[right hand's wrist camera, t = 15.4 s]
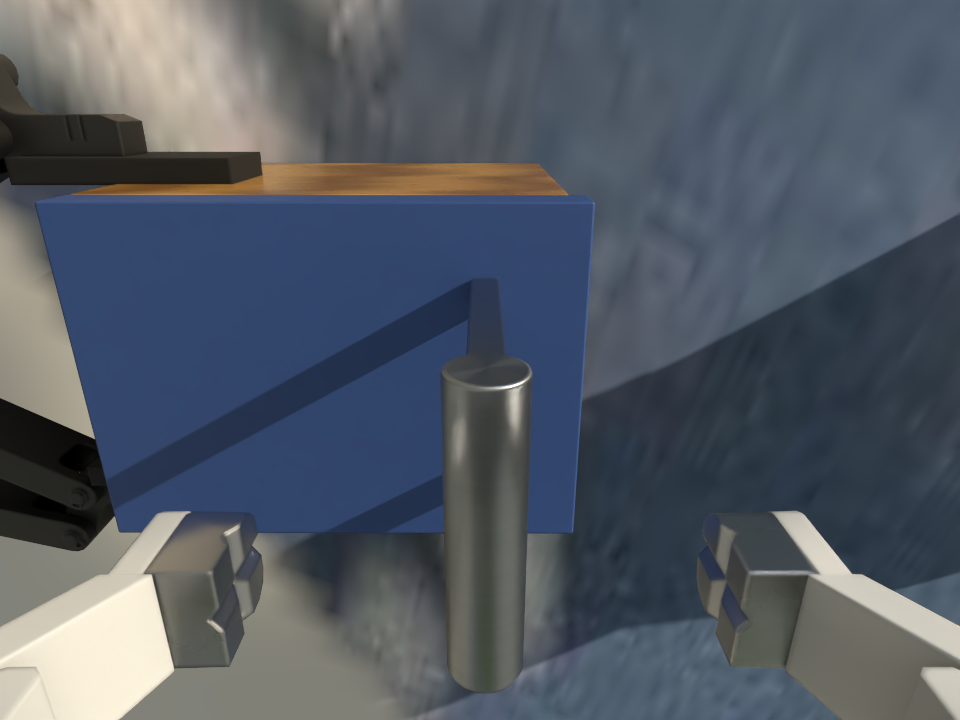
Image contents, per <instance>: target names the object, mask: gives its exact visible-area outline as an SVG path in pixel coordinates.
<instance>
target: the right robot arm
mask: <svg viewBox="0 0 960 720" xmlns="http://www.w3.org/2000/svg"><path fill="white" fill-rule="evenodd" d="M257 534H258V531H257V526H256V521H255V517H254V516H253V515H252V514H251V513H249V512H202V511H193V512H190V511H163V512H161V513H158V514H156V515H155V516H154V517H153V519H152V520H151V521H150V522H149V524H148V525H147V526H146V527H145V529H144V530H143V531H142V532H141V534H140V535H139V536H138V537H137V539H136V540H135V541H134V542H133V543H132V545H131V546H130V547H129V548H128V550H127V551H126V552H125V554H124V555H123V556H122V557H121V558H120V560H119V561H118V562H117V563H116V565H115V566H114V567H113V568H112V570H111V571H110V572H109V573H108V574H98V575H96V576H94V577H92V578H90V579H88V580H87V581H85V582H83V583H81V584H79V585H77V586H75V587H73V588H72V589H70V590H68V591H66V592H64V593H62V594H60V595H58V596H57V597H55V598H53V599H51V600H49V601H47V602H45V603H43V604H41V605H40V606H38V607H36V608H34V609H32V610H30V611H28V612H26V613H25V614H23V615H21V616H19V617H17V618H15V619H13V620H11V621H9V622H8V623H6V624H4V625H2V626H0V720H120V719H121V718H122V717H123V716H124V715H125V714H126V713H128V712H129V711H130V710H131V709H132V708H133V707H134V706H135V705H137V704H138V703H139V702H140V701H141V700H142V699H143V698H145V697H146V696H147V695H148V694H149V693H150V692H151V691H153V690H154V689H155V688H156V687H157V686H158V685H159V684H161V683H162V682H163V681H164V680H165V679H166V678H167V677H169V676H170V675H171V674H172V673H173V672H174V671H175V670H174V668H198V667H229V666H230V664H231V662H232V660H233V658H234V655H235V653H236V651H237V649H238V646H239V644H240V642H241V640H242V638H243V635H244V628H243V622H242V621H243V620H244V619H246V618H247V617H248V616H250V615H251V614H252V613H254V611H255V609H256V606H257V604H258V601H259V599H260V594H261V589H262V584H263V563H262V556H261V554H260V553H259V552H258V551H257V550H256V549H255V548H254V547H253V546H252V544H253V542H254V540H255V538H256V536H257ZM702 535H703V537H704V538H705V540H706V542H707V544H708V546H707V547H706V548H705V549H704V550H703V551H702V552H701V553H700V554H699V555H698V564H697V585H698V591H699V595H700V599H701V602H702V604H703V606H704V609H705V611H706V613H708V614H709V615H710V616H712V617H713V618H714V619H716V620H717V627H716V633H715V634H716V636H717V638H718V640H719V642H720V644H721V647H722V649H723V651H724V653H725V655H726V658H727V660H728V662H729V664H730V666H731V667H760V668H786V669H785V671H786V672H787V673H788V674H789V675H791V676H792V677H793V678H794V679H795V680H796V681H797V682H798V683H800V684H801V685H802V686H803V687H804V688H805V689H806V690H808V691H809V692H810V693H811V694H812V695H813V696H814V697H816V698H817V699H818V700H819V701H820V702H821V703H822V704H824V705H825V706H826V707H827V708H828V709H829V710H830V711H831V712H833V713H834V714H835V715H836V716H837V717H838V718H839V719H841V720H960V626H958V625H956V624H954V623H952V622H950V621H948V620H946V619H945V618H943V617H941V616H939V615H937V614H935V613H933V612H931V611H930V610H928V609H926V608H924V607H922V606H920V605H918V604H916V603H915V602H913V601H911V600H909V599H907V598H905V597H903V596H901V595H900V594H898V593H896V592H894V591H892V590H890V589H888V588H886V587H885V586H883V585H881V584H879V583H877V582H875V581H873V580H871V579H870V578H868V577H866V576H864V575H862V574H852V573H851V572H850V571H849V570H848V568H847V567H846V566H845V565H844V564H843V562H842V561H841V560H840V559H839V557H838V556H837V555H836V554H835V552H834V551H833V550H832V549H831V547H830V546H829V545H828V544H827V542H826V541H825V540H824V539H823V538H822V536H821V535H820V534H819V533H818V531H817V530H816V529H815V528H814V526H813V525H812V524H811V523H810V521H809V520H808V519H807V518H806V516H805V515H804V514H802V513H800V512H798V511H775V512H767V513H708V514H707V516H706V518H705V520H704V525H703V530H702Z"/></svg>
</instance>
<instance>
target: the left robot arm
mask: <svg viewBox="0 0 960 720" xmlns="http://www.w3.org/2000/svg"><path fill="white" fill-rule="evenodd" d="M17 85H18V73H17V70H16V67H15V66H14V64H13V63H12V61H11V60H10V59H8V58H7V57H6V56H5V55H3V54H0V183H1V182H2V181H4V180H5V179H7V178H8V177H9V178H10V182H11V185H116V184H235V183H239V182H242V181H245V180H248V179H252V178H255V177H258V176H261V175H263V173H262V165H261V157H260V152H147V147H146V141H145V136H144V131H143V125H142V121H140V120H138V119H135V118H132V117H130V116H127V115H125V114H44V113H41V112H39V111H37V110H35V109H33V108H32V107H31V106H30V105H29V104H28V103H27V102H26V101H25V100H24V98H23V97H22V96H21V94H20V92H19V91H18V89H17V87H16V86H17ZM114 516H115V514H114V510H113V506H112V502H111V498H110V495H109V491H108V487H107V483H106V479H105V475H104V471H103V467H102V463H101V460H100V456H99V452H98V448H97V444H96V440H95V439H93V438H91V437H88V436H86V435H84V434H81V433H79V432H77V431H74V430H72V429H70V428H68V427H65V426H63V425H61V424H58V423H56V422H54V421H51V420H49V419H47V418H44V417H42V416H40V415H38V414H35V413H33V412H31V411H28V410H26V409H24V408H21V407H19V406H17V405H15V404H12V403H10V402H8V401H5V400H3V399H1V398H0V536H4V537H9V538H14V539H18V540H23V541H28V542H33V543H38V544H42V545H47V546H52V547H56V548H61V549H66V550H71V551H80V550H83V549H85V548H86V547H87V546H88V545H89V544H90V543H91V542H92V540H93V539H94V538H95V537H96V536H97V535H98V534H99V533H100V532H101V530H102V529H103V528H104V527H105V526H106V525H107V524H108V523H109V522H110V520H111V519H112V518H113V517H114Z"/></svg>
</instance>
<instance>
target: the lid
mask: <svg viewBox="0 0 960 720" xmlns="http://www.w3.org/2000/svg"><path fill="white" fill-rule="evenodd" d="M35 206H36V210H37V214H38V218H39V222H40V226H41V230H42V234H43V237H44V241H45V245H46V249H47V253H48V257H49V261H50V265H51V269H52V273H53V276H54V280H55V284H56V288H57V292H58V296H59V300H60V304H61V308H62V312H63V315H64V319H65V323H66V327H67V331H68V335H69V339H70V343H71V347H72V350H73V354H74V358H75V362H76V366H77V370H78V374H79V378H80V382H81V386H82V389H83V393H84V397H85V401H86V405H87V409H88V413H89V417H90V421H91V424H92V428H93V432H94V436H95V440H96V444H97V448H98V452H99V456H100V460H101V463H102V467H103V471H104V475H105V479H106V483H107V487H108V491H109V495H110V498H111V502H112V506H113V510H114V514H115V518H116V522H117V526H118V529H119V532H142V531H143V530H144V529H145V527H146V526H147V525H148V524H149V522H150V521H151V520H152V519H153V517H154V516H155V515H156V514H158V513H161V512H163V511H190V512H193V511H202V512H249V513H251V514H252V515H253V516H254V517H255V521H256V526H257V531H258V533H444V550H445V590H446V630H447V664H448V669H449V672H450V673H451V675H452V677H453V678H454V680H455V681H456V682H457V683H458V684H459V685H461V686H462V687H464V688H465V689H467V690H470V691H473V692H477V693H494V692H498V691H501V690H503V689H505V688H507V687H509V686H510V685H511V684H512V683H513V682H514V681H515V680H516V679H517V677H518V676H519V674H520V672H521V670H522V665H523V642H524V613H525V584H526V554H527V533H572V532H573V525H574V510H575V495H576V480H577V465H578V450H579V435H580V420H581V405H582V390H583V375H584V360H585V345H586V330H587V315H588V300H589V285H590V270H591V255H592V240H593V225H594V210H595V203H594V202H593V201H592V200H591V199H590V198H589V197H588V196H586V195H63V196H58V197H54V198H49V199H44V200H39V201H36V202H35Z"/></svg>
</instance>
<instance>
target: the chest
mask: <svg viewBox="0 0 960 720" xmlns="http://www.w3.org/2000/svg"><path fill="white" fill-rule="evenodd" d="M261 165H262V173H263V175H261V176H258V177H255V178H252V179H248V180H245V181H242V182H239V183H235V184H116V185H111V186H106V187H102V188H97V189H92V190H87V191H83V192H78V193H73V194H70V195H568V194H567V193H566V192H565V191H564V190H563V189H562V188H561V187H560V186H559V185H558V184H557V183H556V182H555V181H554V180H553V179H552V178H551V177H550V176H549V175H548V174H547V173H546V172H545V171H544V170H543V169H542V168H541V167H540V166H539V164H537V163H261Z"/></svg>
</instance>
